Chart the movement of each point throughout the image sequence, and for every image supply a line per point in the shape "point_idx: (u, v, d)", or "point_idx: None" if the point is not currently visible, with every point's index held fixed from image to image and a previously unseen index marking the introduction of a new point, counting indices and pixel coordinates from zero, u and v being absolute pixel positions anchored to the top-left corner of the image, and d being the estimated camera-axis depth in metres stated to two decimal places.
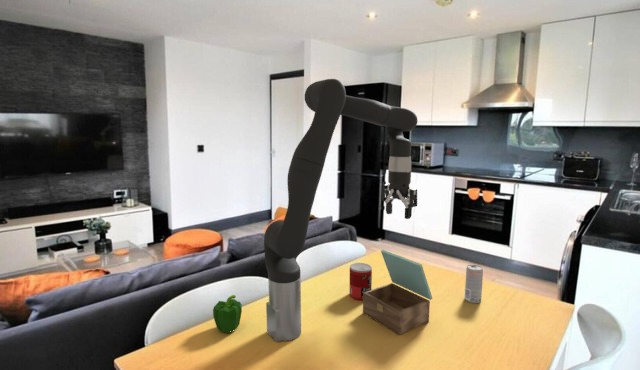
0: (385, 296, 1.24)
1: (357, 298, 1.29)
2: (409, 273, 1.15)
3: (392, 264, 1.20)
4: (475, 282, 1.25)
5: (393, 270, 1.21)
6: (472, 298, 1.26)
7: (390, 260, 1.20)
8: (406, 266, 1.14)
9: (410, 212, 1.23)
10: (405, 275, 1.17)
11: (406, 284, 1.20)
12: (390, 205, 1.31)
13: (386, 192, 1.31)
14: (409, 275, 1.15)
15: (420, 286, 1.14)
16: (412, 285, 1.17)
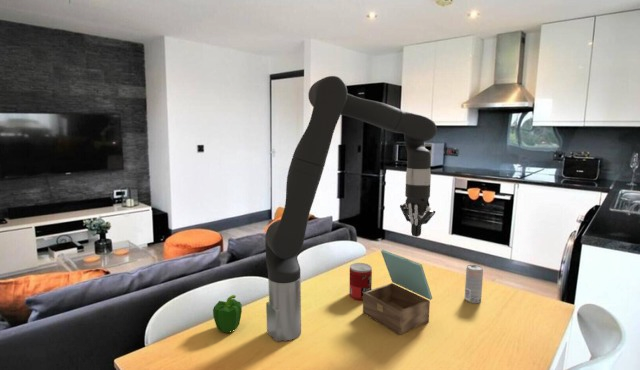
0: (385, 296, 1.24)
1: (357, 298, 1.29)
2: (409, 273, 1.15)
3: (392, 264, 1.20)
4: (475, 282, 1.25)
5: (393, 270, 1.21)
6: (472, 298, 1.26)
7: (390, 260, 1.20)
8: (406, 266, 1.14)
9: (420, 229, 1.17)
10: (405, 275, 1.17)
11: (406, 284, 1.20)
12: None
13: (407, 211, 1.20)
14: (409, 275, 1.15)
15: (420, 286, 1.14)
16: (412, 285, 1.17)
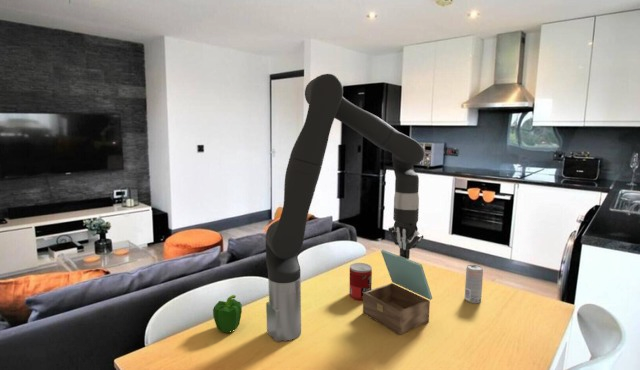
0: (385, 296, 1.24)
1: (357, 298, 1.29)
2: (409, 273, 1.15)
3: (392, 264, 1.20)
4: (475, 282, 1.25)
5: (393, 270, 1.21)
6: (472, 298, 1.26)
7: (390, 260, 1.20)
8: (406, 266, 1.14)
9: (408, 254, 1.15)
10: (405, 275, 1.17)
11: (406, 284, 1.20)
12: None
13: (396, 234, 1.18)
14: (409, 275, 1.15)
15: (420, 286, 1.14)
16: (412, 285, 1.17)
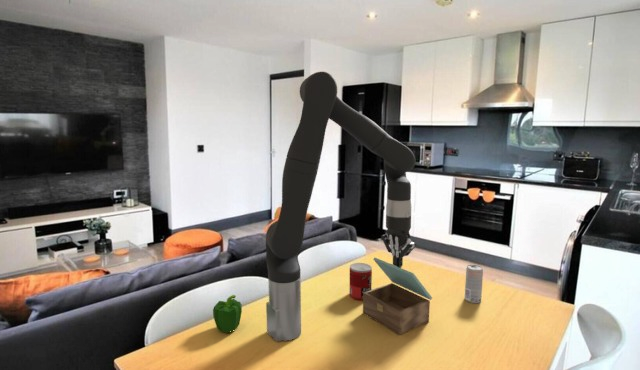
0: (385, 296, 1.24)
1: (357, 298, 1.29)
2: (404, 279, 1.14)
3: (387, 270, 1.19)
4: (475, 282, 1.25)
5: (390, 274, 1.21)
6: (472, 298, 1.26)
7: (384, 267, 1.18)
8: (400, 273, 1.13)
9: (401, 261, 1.13)
10: (401, 279, 1.16)
11: (405, 285, 1.19)
12: None
13: (389, 241, 1.16)
14: (405, 280, 1.14)
15: (418, 289, 1.13)
16: (411, 287, 1.17)
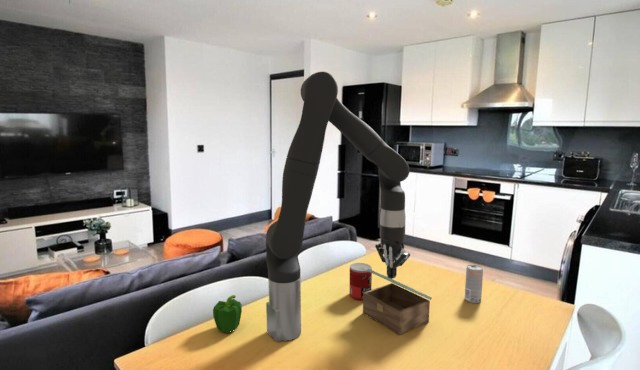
0: (385, 296, 1.24)
1: (357, 298, 1.29)
2: None
3: None
4: (475, 281, 1.25)
5: None
6: (472, 298, 1.26)
7: None
8: None
9: (395, 271, 1.12)
10: None
11: None
12: None
13: (383, 251, 1.15)
14: None
15: None
16: None
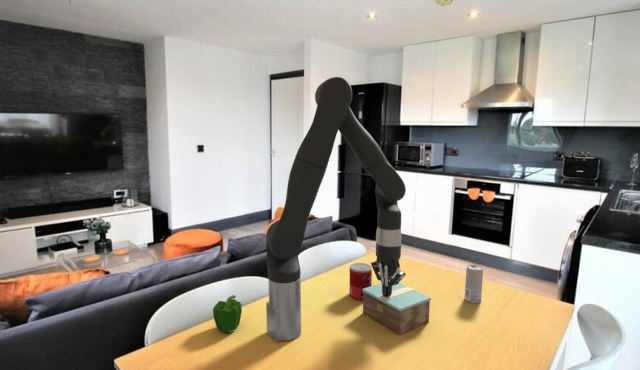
0: None
1: (357, 298, 1.29)
2: None
3: None
4: (475, 281, 1.25)
5: None
6: (472, 298, 1.26)
7: None
8: None
9: (390, 290, 1.12)
10: None
11: None
12: None
13: (378, 269, 1.15)
14: None
15: None
16: None
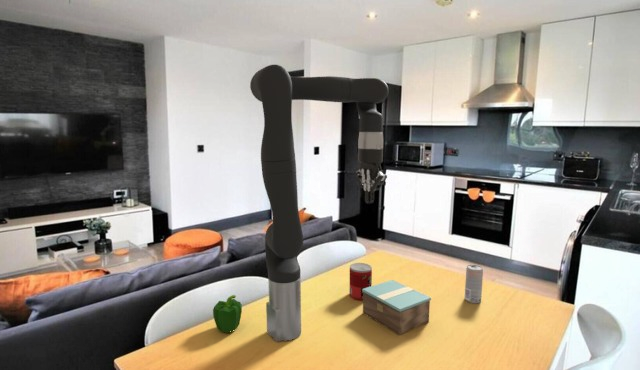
0: None
1: (357, 298, 1.29)
2: None
3: None
4: (475, 281, 1.25)
5: None
6: (472, 298, 1.26)
7: None
8: None
9: (372, 196, 1.13)
10: None
11: None
12: None
13: (361, 178, 1.17)
14: None
15: None
16: None
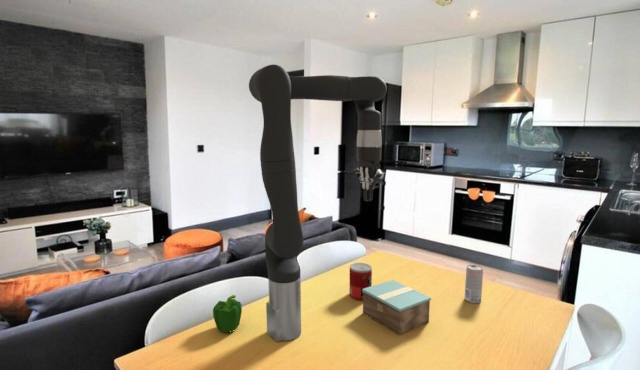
0: None
1: (357, 298, 1.29)
2: None
3: None
4: (475, 282, 1.25)
5: None
6: (472, 298, 1.26)
7: None
8: None
9: (371, 194, 1.14)
10: None
11: None
12: None
13: (360, 176, 1.17)
14: None
15: None
16: None
